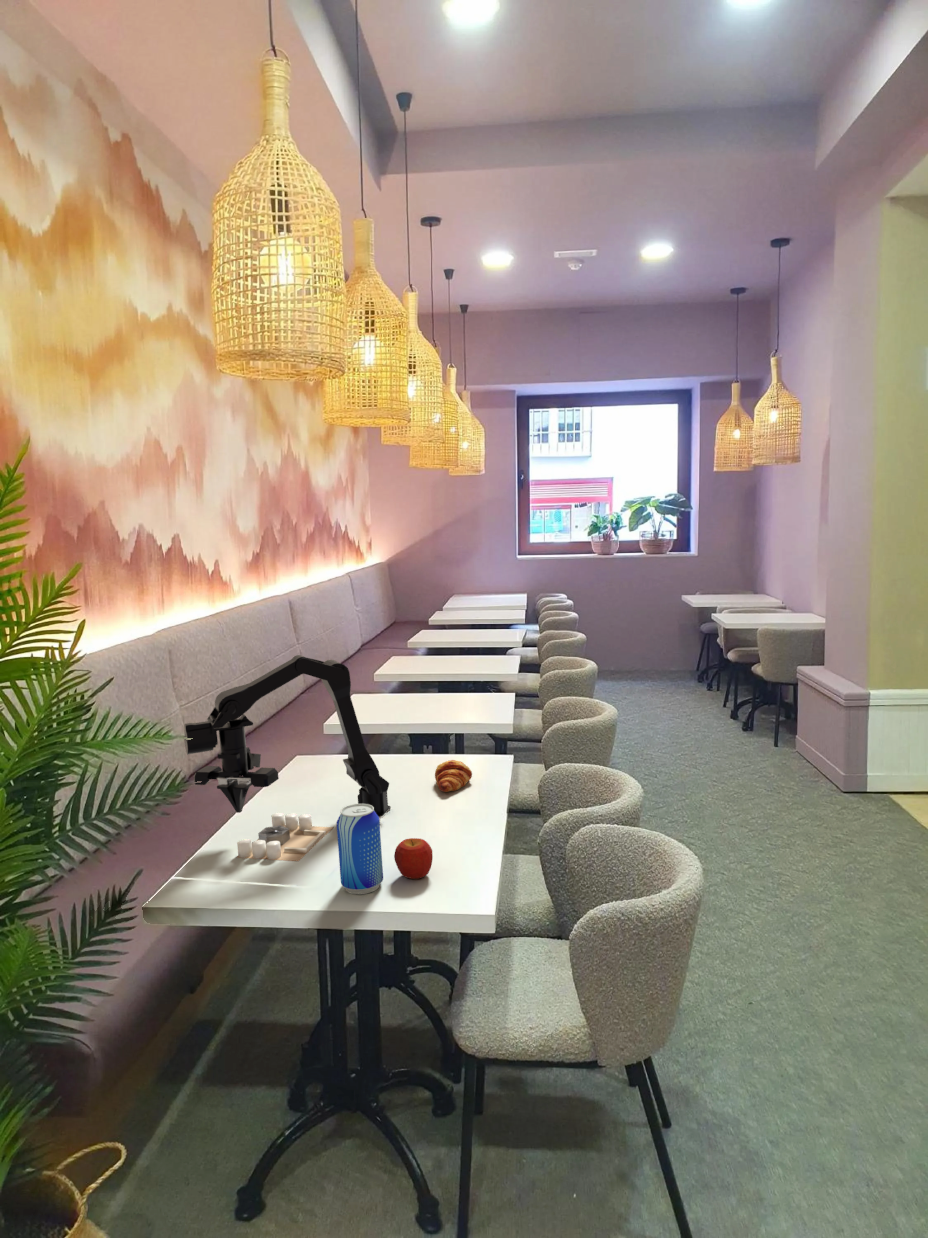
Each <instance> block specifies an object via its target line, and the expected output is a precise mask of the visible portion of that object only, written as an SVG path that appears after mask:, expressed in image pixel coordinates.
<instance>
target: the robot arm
mask: <svg viewBox="0 0 928 1238" xmlns="http://www.w3.org/2000/svg"><path fill="white" fill-rule="evenodd" d="M301 675H306V676H311V677H313V678H316V679H320V680H321V681H322V684H323V685H324V688H325V689H326V691H327V692H328V694H329V695H330V697H331V699H332V701H333V705H334V708H335V711H336V714H337V718H338V721H339V724H340V728H341V731H342V734H343V738H344V741H345V744H346V748H347V753H348V754H347V758H343V759H342V761H343V764H344V766H345V768H346V773H345V774H346V775H347V776H348V777H350V778H351V779H352V780H353V781H354V782H356V783H357V785H358V786H359V787H360V788H359V789H358V794H357V804H369V805H372V806H373V807H374V811H375V813H376V814H377V815H378V817H382V816H384V815H385V814H386V813H387V812H388V811H390V809H391V806H390V805H389V803H388V801H389V799H388V790H389V787H390V782H389V781H388V780H387V779H385V778H384V777H382V776H381V775H380V771H379V768H378V767H377V765H376V763H375V761H374V759H373V757H372V756H371V755H370V752H369V751H368V749H367V747H366V745H365V741H364V738H363V735H362V731H361V727H360V725H359V724H360V723H359V721H358V717H357V715H356V710H355V708H354V704H353V700H352V697H351V689H352V687H351V686H352V684H351V683H352V682H351V675H350V670H349V668H348V667H347V665H345V664H343V663H341V662H339V661H337V660H334V659H327V660H326V661H322V660H319V659H314V658H310V657H306V656H303V655H301V654H297V655H294V656H292V658H291V659H289V660H288V661H286V662H284V663H283V664H280V665H279V666H277V667H275V668H273V669H272V670H270V671H268V672H266V673H265V674H263V675H261V676H260V677H257V678H255V679H254V680H251V682H249V683H246V684H243V685H242V684H241V685H239V686H234V687H232V688H228V689H226V690H224V691H222V692H220V693H218V694H217V695H216V697H215V701H214V707H213V709H212V710H211V712H210V714H209V715H208V717H207V718H206V721H199V722H187V723H184V736H183V741H184V747H185V749H184V750H185V753H186V755H192V754H198V753H203V752H210V751H213V750H214V748H216V746H218V744H219V747H220V748H219V749H220V752H219V753H218V754H217V759H219V760H221V766H220V765H219V766H217V765H215V766H214V765H206V766H204V767H202V768H200V769H199V770H197V771H195V773H194V776H193V783H194V782H197V781H202V782H201V783H194V784H193V785H195V786H196V785H197V786H206V785H207V784H208V783H209V782H210V780H217V782H218V784H217V786H216V789H218V790H219V791H221V792H222V794H223V795H224V796H225V797H226V799H227V800H228V801H229V803H230V804H231V805H232V806H231V807H232V808H233V809H234V810H235V812H236V814H237V813H238V814H239V813H241V812H243V809H244V806H245V802H246V797H247V795H248V791H249V789H250V788H251V786H253V787H254V788H266V787H269V786H271V785H272V784H274V783H275V782H276V781H278V780H279V779H280V777H279V772H278V770H277V768H275V767H261V759H262V757H261V756H262V753H252V752H251V748H250V747H248V746H247V741H246V740H247V739H246V729H245V727H251V726H253V725H254V722H253V721H252V720H251V719H250V718H248V717H247V715H245V713H246V712H247V711H249V710H250V709H251V708H252V707H253V706H254V704H255V703H257V701H259V700H260V699H262V698H263V697H265V696H267V695H269V694H271V693H272V692H274V691H276V690H277V689H279V688H281V687H282V686H284V685H286V684H287V683H289V682H291V681H293V680H294V679H296V678H298V677H299V676H301ZM217 732H218V734H217ZM184 737H187V738H193V739H191V740H186V739H184ZM218 738H219V740H218ZM218 741H219V742H218ZM255 768H258V769H257V770H256V771H254V772H253V771H252V770H254V769H255Z"/></svg>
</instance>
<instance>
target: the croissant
mask: <svg viewBox="0 0 928 1238" xmlns="http://www.w3.org/2000/svg"><path fill="white" fill-rule="evenodd" d="M434 771H435V773H434V778H435V782H436V785H437V787H438V789H439V790H440V791H442V792H443V793H448V792H454V791H459V790H460V789H461V788H463V787H465V786H466V785H467V783H468V782H469V781H470V780H471V779H472V778H473V771H472V770H471V769H470V767H469V766H468V765H466V764H465V763H464V762H463V761H460V760H455V759H450V760H448V761H447V760H446V761H444V762H442V763H439V764H438V765H437V767H436V768H435V770H434Z"/></svg>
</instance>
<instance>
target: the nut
mask: <svg viewBox="0 0 928 1238" xmlns="http://www.w3.org/2000/svg"><path fill="white" fill-rule="evenodd" d="M257 834H258V839H259V840H265V841H266V844H267V843H268V842H270V841H279V842H280V845H284V844H285V843H286V842H287V841H288V840H289V839H290V832H289V828H286V827H284V826H281V825H279V826H273V827H272V826H268V827H267V826H266V827H265V828H263V829H262V830H261V831H259V832H258V833H257Z"/></svg>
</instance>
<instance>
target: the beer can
mask: <svg viewBox="0 0 928 1238" xmlns="http://www.w3.org/2000/svg"><path fill="white" fill-rule="evenodd" d="M380 823H381V822H380V816H378V815H377V814H376V813H375V811H374V807H373V806H372V805H369V804H358V803H353V804H350V805H346V806H344V807H342V808H341V809H340V814H339V816H338V818H337V821H336V834H337V846H338V847H337V849H338V862H339V874H340V883H341V886H342V887H343V888H344V890H345V891H346V892H348V894H349V893H350V894H352V895H365V894H370V893H372V892H375V891H376V890H378V889H379V888H380V886H381V884H382V882H383V880H384V871H383V867H384V866H383V854H382V853H383V852H382V840H381V827H380V826H381V824H380Z"/></svg>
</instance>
